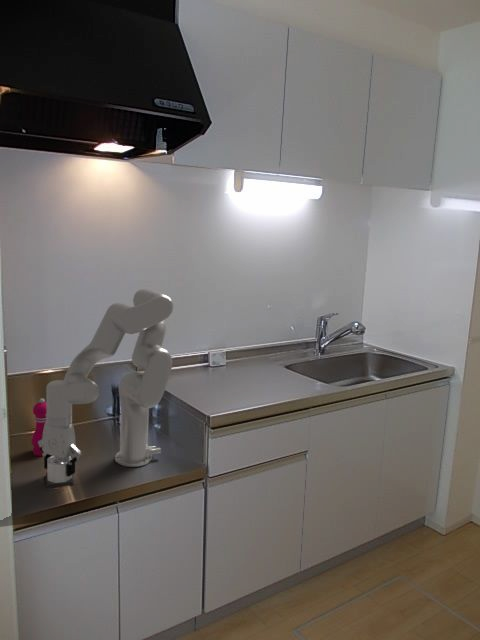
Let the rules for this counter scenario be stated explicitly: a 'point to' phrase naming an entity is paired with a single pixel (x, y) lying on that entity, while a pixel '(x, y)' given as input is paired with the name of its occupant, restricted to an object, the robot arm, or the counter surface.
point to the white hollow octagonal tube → (57, 470)
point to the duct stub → (69, 482)
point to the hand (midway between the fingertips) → (59, 470)
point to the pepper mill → (39, 425)
